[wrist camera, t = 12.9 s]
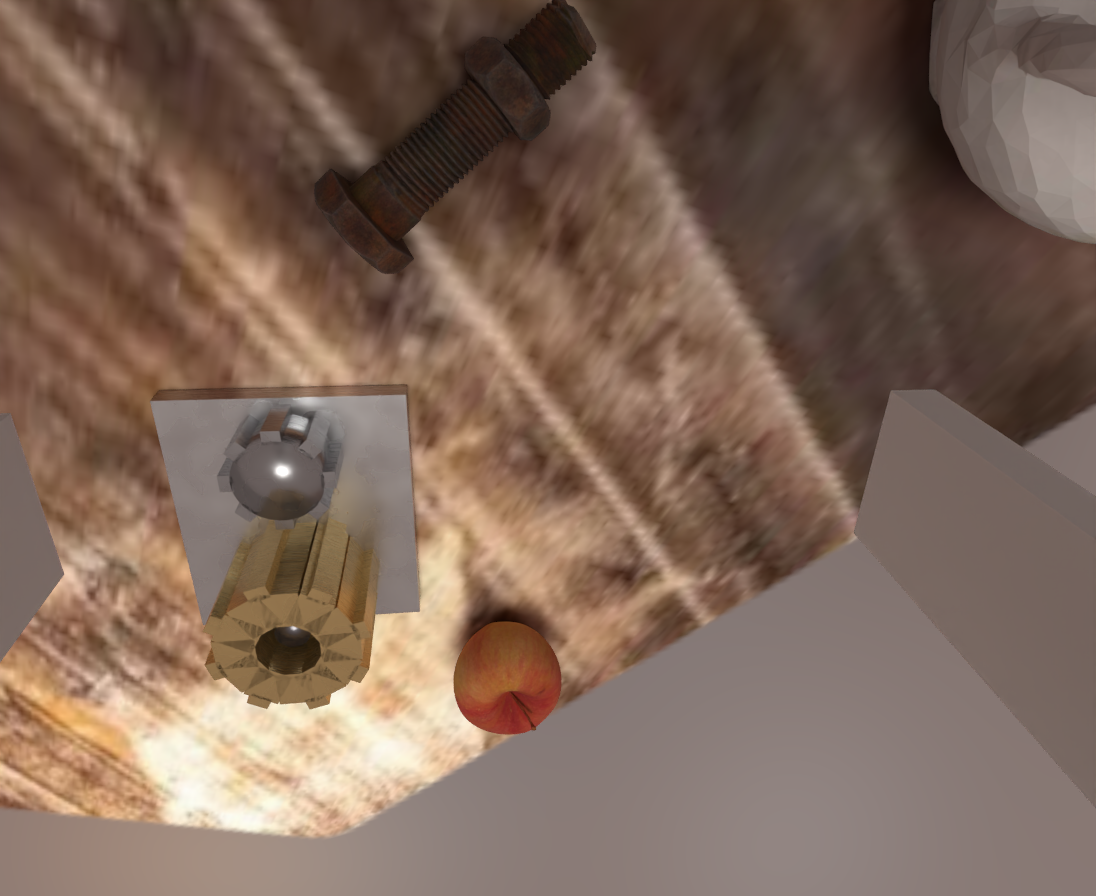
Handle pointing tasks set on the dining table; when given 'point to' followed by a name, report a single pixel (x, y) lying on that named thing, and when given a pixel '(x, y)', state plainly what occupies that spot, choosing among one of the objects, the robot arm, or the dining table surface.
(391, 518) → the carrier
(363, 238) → the bolt
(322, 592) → the gear
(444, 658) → the dining table surface
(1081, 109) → the ceramic pitcher
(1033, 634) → the robot arm
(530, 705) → the apple
